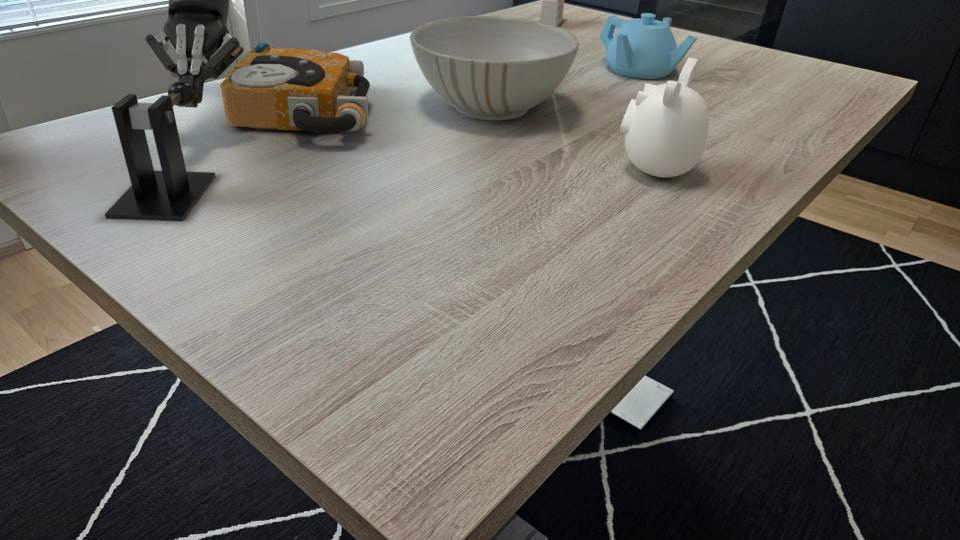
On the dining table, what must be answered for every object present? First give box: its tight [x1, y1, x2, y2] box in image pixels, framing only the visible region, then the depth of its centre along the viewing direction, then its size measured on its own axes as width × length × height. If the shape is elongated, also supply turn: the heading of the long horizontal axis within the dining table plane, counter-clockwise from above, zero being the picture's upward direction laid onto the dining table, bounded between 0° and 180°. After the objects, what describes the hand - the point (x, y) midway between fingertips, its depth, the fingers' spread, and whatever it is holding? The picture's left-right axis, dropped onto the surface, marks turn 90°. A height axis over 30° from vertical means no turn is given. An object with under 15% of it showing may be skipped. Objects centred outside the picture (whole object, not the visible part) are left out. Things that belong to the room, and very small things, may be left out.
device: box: [219, 42, 371, 135], centre depth 110 cm, size 23×8×30 cm
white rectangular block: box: [540, 0, 565, 27], centre depth 165 cm, size 4×7×10 cm, turn 161°
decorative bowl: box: [409, 15, 580, 121], centre depth 115 cm, size 27×27×12 cm
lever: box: [129, 81, 194, 131], centre depth 86 cm, size 14×3×3 cm, turn 0°
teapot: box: [598, 12, 698, 80], centre depth 137 cm, size 15×15×11 cm
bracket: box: [104, 93, 216, 222], centre depth 84 cm, size 12×9×13 cm
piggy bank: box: [619, 56, 709, 178], centre depth 95 cm, size 12×12×15 cm
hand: (188, 104), depth 93 cm, fingers closed
